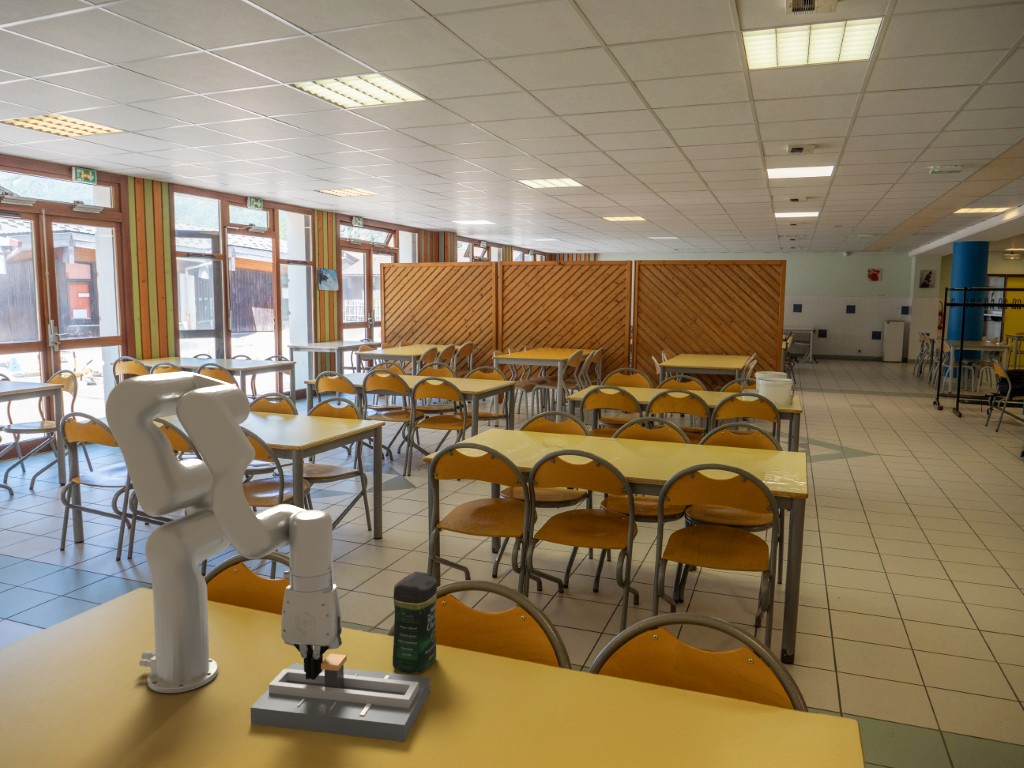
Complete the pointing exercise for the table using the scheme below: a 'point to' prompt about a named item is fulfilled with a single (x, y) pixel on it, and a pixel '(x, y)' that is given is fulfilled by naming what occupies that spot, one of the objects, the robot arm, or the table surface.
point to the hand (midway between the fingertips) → (313, 675)
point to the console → (343, 703)
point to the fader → (334, 670)
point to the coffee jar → (415, 623)
